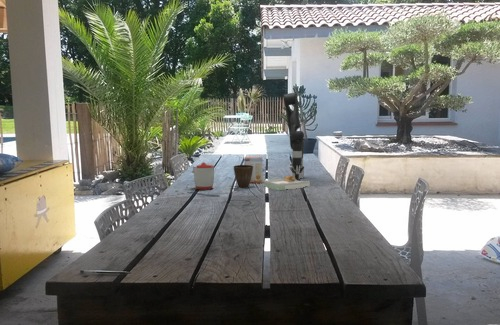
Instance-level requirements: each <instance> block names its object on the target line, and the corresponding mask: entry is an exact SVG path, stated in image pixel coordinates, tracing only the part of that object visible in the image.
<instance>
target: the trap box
mask: <svg viewBox="0 0 500 325" xmlns="http://www.w3.org/2000/svg"><path fill="white" fill-rule="evenodd" d="M263 184H264V187H265V188H269V189H272V190H276V191H287V190H286V189H288V190H294V189H296V188H297V189H304V188H303V187H305V186H310V187H311V183H310V180H307V181H303V180H300V179H295V181H294V182H286V181H285V178H279V179H277V178H276V179H267V180H264V182H263ZM297 189H296V190H297Z"/></svg>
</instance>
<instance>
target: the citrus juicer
mask: <svg viewBox="0 0 500 325" xmlns="http://www.w3.org/2000/svg"><path fill="white" fill-rule="evenodd" d="M191 173H192V174H193V182H194V185H195V186H194V187H195V189H196V190H203V191H204V190H205V191H208V190H210V189H211V190H212V189H213V187H214V181H215V165H211V164H207V163H206V162H204V161H203V162H202V163H201V164H198V165H196V166H193V167H192V171H191Z"/></svg>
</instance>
